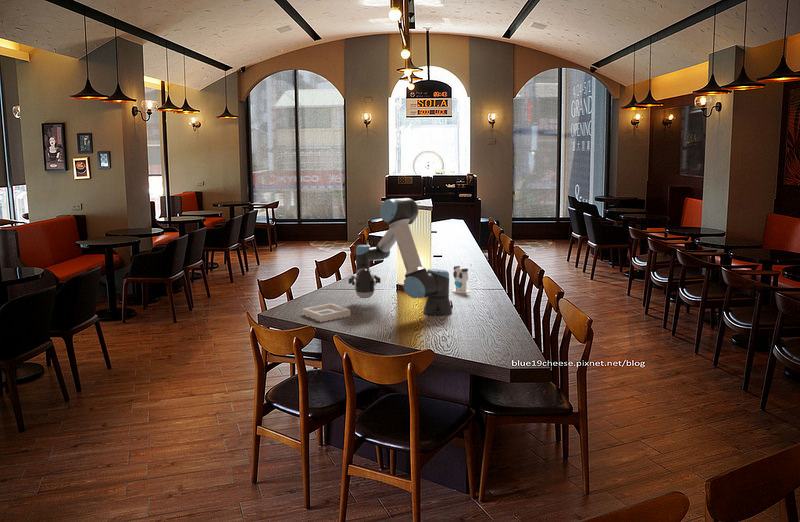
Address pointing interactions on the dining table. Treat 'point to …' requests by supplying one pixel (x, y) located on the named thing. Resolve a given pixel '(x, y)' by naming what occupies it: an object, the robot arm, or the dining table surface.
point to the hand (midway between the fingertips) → (365, 283)
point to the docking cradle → (326, 312)
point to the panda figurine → (460, 279)
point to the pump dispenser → (364, 284)
